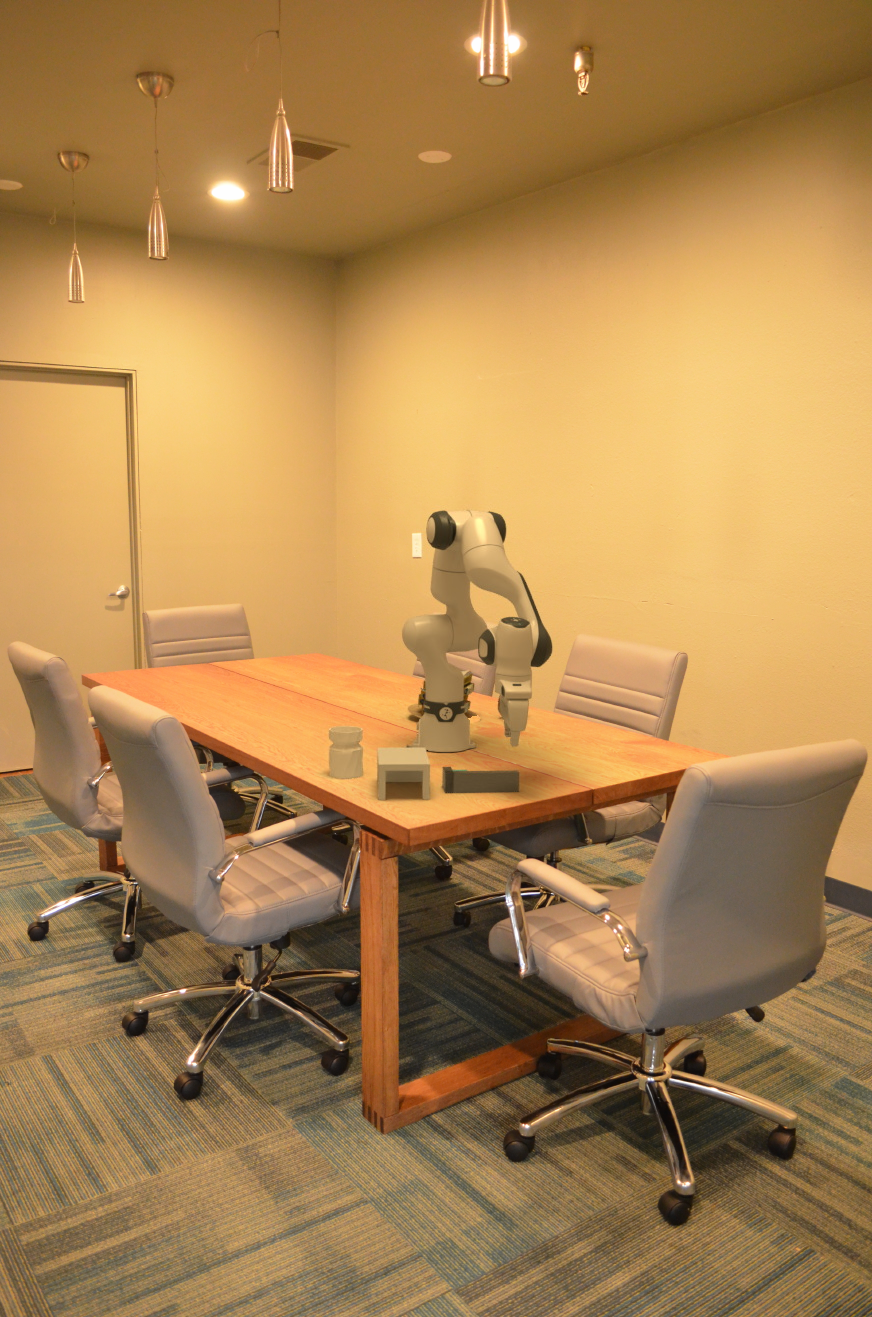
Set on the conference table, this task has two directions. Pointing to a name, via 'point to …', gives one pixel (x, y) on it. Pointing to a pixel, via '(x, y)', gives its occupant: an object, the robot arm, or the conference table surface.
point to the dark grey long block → (480, 781)
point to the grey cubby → (403, 768)
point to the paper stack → (468, 689)
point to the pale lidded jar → (346, 752)
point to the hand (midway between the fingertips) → (511, 741)
